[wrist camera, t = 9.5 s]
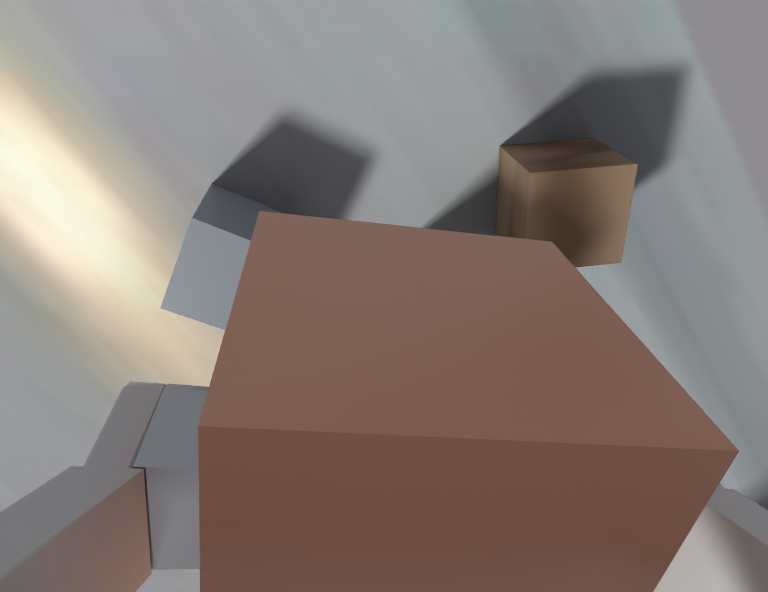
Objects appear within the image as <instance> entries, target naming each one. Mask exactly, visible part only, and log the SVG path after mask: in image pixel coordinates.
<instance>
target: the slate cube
mask: <svg viewBox="0 0 768 592" xmlns="http://www.w3.org/2000/svg"><path fill="white" fill-rule="evenodd" d="M259 211H266V212H275V213H282V212H280V211H278V210H275V209H273V208H270V207H268V206H265V205H263V204H261V203H258V202H256V201H253V200H251V199H248V198H246V197H244V196H241V195H239V194H236V193H234V192H231V191H229V190H227V189H224V188H222V187H219V186H217V185H214V184H211V186H210V188H209V189H208V191H207V193H206V195H205V196H204V198H203V200H202V202H201V203H200V205H199V207H198V209H197V210H196V212H195V214H194V216H193V217H192V220H191V223H190V225H189V228H188V231H187V234H186V237H185V240H184V242H183V245H182V248H181V251H180V254H179V257H178V260H177V262H176V265H175V268H174V271H173V274H172V277H171V279H170V282H169V285H168V288H167V291H166V294H165V296H164V299H163V302H162V305H161V309H164V310H167V311H170V312H173V313H176V314H179V315H182V316H185V317H188V318H191V319H194V320H197V321H200V322H203V323H206V324H209V325H212V326H215V327H218V328H221V329H224V330H226V326H227V323H228V319H229V316H230V312H231V309H232V305H233V302H234V298H235V295H236V291H237V288H238V284H239V281H240V277H241V274H242V270H243V267H244V263H245V260H246V256H247V253H248V249H249V246H250V242H251V239H252V235H253V232H254V228H255V225H256V221H257V218H258V214H259ZM284 214H285V213H284Z"/></svg>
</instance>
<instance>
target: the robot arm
mask: <svg viewBox="0 0 768 592" xmlns="http://www.w3.org/2000/svg"><path fill="white" fill-rule="evenodd" d="M208 390H209V387H203V386H190V385H177V384H167V385H166V384H159V383H145V382H129V383H128V384H127V385H126V386H125V387H123V389H122V391H121V393H120V395H119V397H118V399H117V401H116V403H115V405H114V407H113V409H112V411H111V413H110V415H109V417H108V419H107V421H106V423H105V425H104V427H103V429H102V431H101V433H100V435H99V437H98V439H97V440H96V442H95V444H94V446H93V448H92V450H91V452H90V454H89V456H88V458H87V460H86V462H85V464H84V466H83V467H73V466H71V467H69V468H68V469H66V470H65V471H63V472H62V473H60V474H59V475H57V476H55V477H54V478H52V479H51V480H49V481H48V482H46V483H45V484H43V485H42V486H40V487H39V488H37V489H35V490H34V491H32V492H31V493H29V494H28V495H26V496H25V497H23V498H22V499H20V500H18V501H17V502H15V503H14V504H12V505H11V506H9V507H8V508H6V509H5V510H3V511H2V512H0V592H136V590H137V589H138V588H139V587H140V586H141V585H142V584H143V583H144V582H145V580H146V579H147V578H148V577H149V576H150V575H151V570H157V569H200V534H199V455H198V425H199V421H200V418H201V414H202V411H203V407H204V404H205V400H206V397H207V393H208ZM654 592H768V510H766V509H765V508H763V507H762V506H760V505H758V504H757V503H755V502H754V501H752V500H750V499H749V498H747V497H746V496H744V495H742V494H741V493H739V492H738V491H736V490H734V489H724V487H723V486H722V485H721V484H720V483H719V485H718V486H717V488H716V490H715V491H714V493H713V495H712V496H711V498H710V499H709V501H708V503H707V504H706V506H705V508H704V509H703V511H702V513H701V514H700V516H699V518H698V519H697V521H696V522H695V524H694V526H693V527H692V529H691V531H690V532H689V534H688V536H687V537H686V539H685V541H684V542H683V544H682V546H681V547H680V549H679V550H678V552H677V554H676V555H675V557H674V559H673V560H672V562H671V564H670V565H669V567H668V569H667V570H666V572H665V573H664V575H663V577H662V578H661V580H660V582H659V583H658V585H657V587H656V588H655V590H654Z"/></svg>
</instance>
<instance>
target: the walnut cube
mask: <svg viewBox="0 0 768 592" xmlns="http://www.w3.org/2000/svg"><path fill="white" fill-rule="evenodd" d="M637 167H638V164H637V163H636V162H634V161H632V160H630V159H628V158H627V157H625V156H623V155H621V154H620V153H618V152H616V151H614V150H612V149H611V148H609V147H607V146H605V145H604V144H602V143H600V142H598V141H596V140H595V139H593V138H587V139H575V140H563V141H551V142H539V143H527V144H515V145H503V146H500V149H499V172H498V194H497V217H496V235H497V236H502V237H512V238H521V239H531V240H540V241H549V242H553V243H554V245H555V246H556V247H557V248H558V249H559V250H560V251H561V252H562V253H563V255H564V256H565V257H566V258H567V259H568V260H569V261H570V262H571V264H572V265H573V266H574V267H584V266H594V265H604V264H615V263H621V261H622V255H623V249H624V243H625V237H626V232H627V226H628V220H629V214H630V208H631V202H632V196H633V190H634V184H635V179H636V173H637Z"/></svg>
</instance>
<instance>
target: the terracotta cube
mask: <svg viewBox="0 0 768 592" xmlns="http://www.w3.org/2000/svg"><path fill="white" fill-rule="evenodd" d="M738 452H739V450H738V449H737V448H736V447H735V446H734V445H733V444H732V443H731V441H730V440H729V439H728V438H727V437H726V436H725V435H724V434H723V433H722V431H721V430H720V429H719V428H718V427H717V426H716V425H715V424H714V422H713V421H712V420H711V419H710V418H709V417H708V416H707V415H706V413H705V412H704V411H703V410H702V409H701V408H700V407H699V406H698V405H697V403H696V402H695V401H694V400H693V399H692V398H691V397H690V396H689V394H688V393H687V392H686V391H685V390H684V389H683V388H682V387H681V386H680V384H679V383H678V382H677V381H676V380H675V379H674V378H673V377H672V375H671V374H670V373H669V372H668V371H667V370H666V369H665V368H664V366H663V365H662V364H661V363H660V362H659V361H658V360H657V359H656V358H655V356H654V355H653V354H652V353H651V352H650V351H649V350H648V349H647V347H646V346H645V345H644V344H643V343H642V342H641V341H640V340H639V339H638V337H637V336H636V335H635V334H634V333H633V332H632V331H631V330H630V328H629V327H628V326H627V325H626V324H625V323H624V322H623V321H622V319H621V318H620V317H619V316H618V315H617V314H616V313H615V312H614V311H613V309H612V308H611V307H610V306H609V305H608V304H607V303H606V302H605V300H604V299H603V298H602V297H601V296H600V295H599V294H598V293H597V292H596V290H595V289H594V288H593V287H592V286H591V285H590V284H589V283H588V281H587V280H586V279H585V278H584V277H583V276H582V275H581V274H580V272H579V271H578V270H577V269H576V268H575V267H574V266H573V265H572V264H571V262H570V261H569V260H568V259H567V258H566V257H565V256H564V255H563V253H562V252H561V251H560V250H559V249H558V248H557V247H556V246H555V245H554V243H553V242H549V241H540V240H531V239H521V238H512V237H502V236H493V235H483V234H474V233H464V232H455V231H445V230H436V229H426V228H417V227H408V226H398V225H389V224H379V223H370V222H360V221H351V220H341V219H332V218H322V217H313V216H303V215H294V214H284V213H275V212H266V211H259V214H258V218H257V221H256V225H255V228H254V232H253V235H252V239H251V242H250V246H249V249H248V253H247V256H246V260H245V263H244V267H243V270H242V274H241V277H240V281H239V284H238V288H237V291H236V295H235V298H234V302H233V305H232V309H231V312H230V316H229V319H228V323H227V326H226V330H225V333H224V337H223V340H222V344H221V347H220V351H219V355H218V358H217V362H216V365H215V369H214V372H213V376H212V379H211V383H210V386H209V390H208V393H207V397H206V400H205V404H204V407H203V411H202V414H201V418H200V421H199V425H198V455H199V534H200V592H654V590H655V588H656V587H657V585H658V583H659V582H660V580H661V578H662V577H663V575H664V573H665V572H666V570H667V569H668V567H669V565H670V564H671V562H672V560H673V559H674V557H675V555H676V554H677V552H678V550H679V549H680V547H681V546H682V544H683V542H684V541H685V539H686V537H687V536H688V534H689V532H690V531H691V529H692V527H693V526H694V524H695V522H696V521H697V519H698V518H699V516H700V514H701V513H702V511H703V509H704V508H705V506H706V504H707V503H708V501H709V499H710V498H711V496H712V495H713V493H714V491H715V490H716V488H717V486H718V485H719V483H720V481H721V480H722V478H723V476H724V475H725V473H726V471H727V470H728V468H729V467H730V465H731V463H732V462H733V460H734V458H735V457H736V455H737V453H738Z"/></svg>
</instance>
